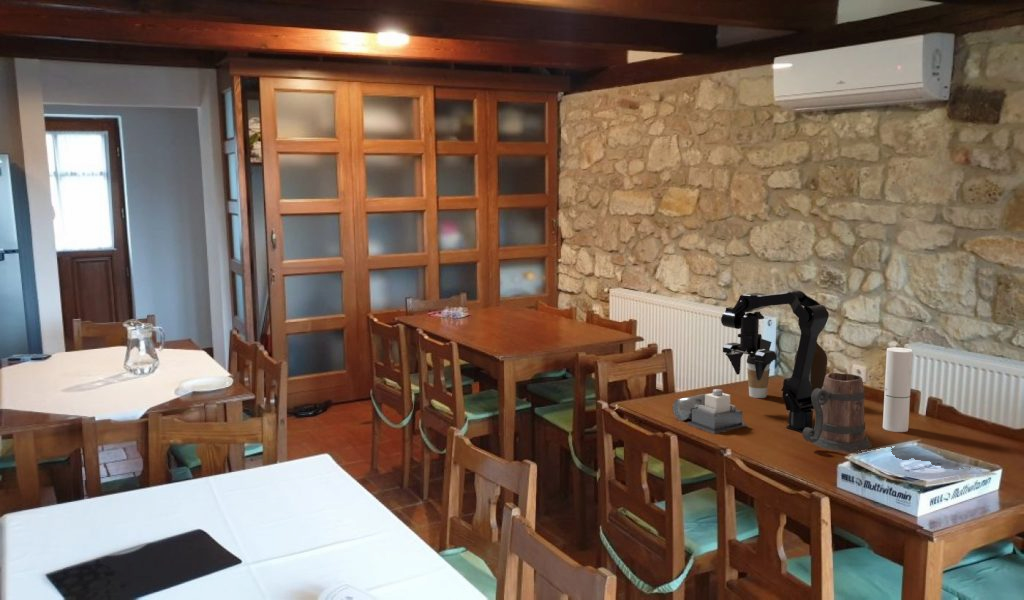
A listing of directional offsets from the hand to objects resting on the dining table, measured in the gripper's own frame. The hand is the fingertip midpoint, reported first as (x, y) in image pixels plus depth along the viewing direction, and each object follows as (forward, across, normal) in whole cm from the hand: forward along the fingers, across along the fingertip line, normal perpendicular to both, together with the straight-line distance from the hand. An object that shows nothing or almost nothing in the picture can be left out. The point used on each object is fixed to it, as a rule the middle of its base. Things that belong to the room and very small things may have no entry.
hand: (748, 377), depth 268 cm
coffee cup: (+12, +12, -18) cm, 25 cm away
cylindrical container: (+12, -38, -24) cm, 46 cm away
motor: (+12, -1, +19) cm, 23 cm away
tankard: (+12, -37, +4) cm, 39 cm away
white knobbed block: (+7, -5, +19) cm, 21 cm away
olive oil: (+12, -3, -27) cm, 30 cm away
